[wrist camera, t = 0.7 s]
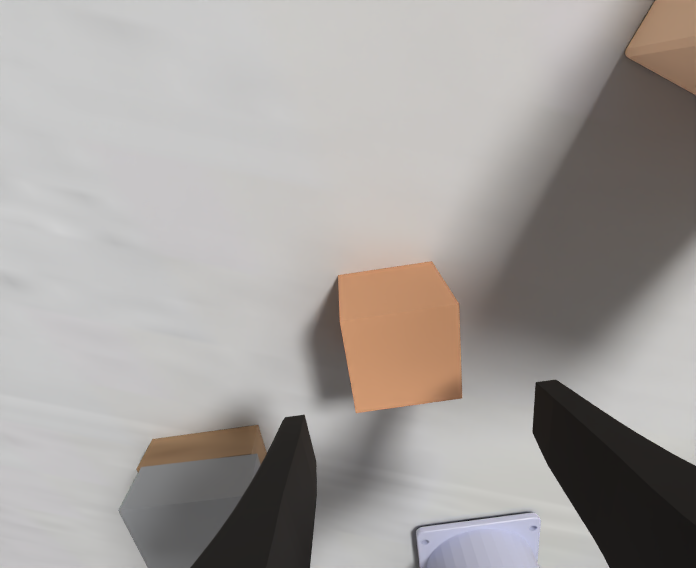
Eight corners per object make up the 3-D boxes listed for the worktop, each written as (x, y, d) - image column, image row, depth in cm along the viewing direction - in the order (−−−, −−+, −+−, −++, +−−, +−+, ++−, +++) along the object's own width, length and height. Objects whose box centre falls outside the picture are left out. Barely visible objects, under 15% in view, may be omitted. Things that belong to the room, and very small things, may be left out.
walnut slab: (281, 492, 25) (276, 529, 23) (187, 505, 25) (173, 543, 23) (259, 419, 22) (251, 453, 20) (155, 434, 23) (136, 469, 20)
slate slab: (279, 530, 23) (273, 575, 20) (175, 542, 23) (158, 588, 21) (257, 453, 20) (248, 495, 18) (141, 467, 20) (118, 510, 18)
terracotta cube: (436, 340, 20) (462, 398, 16) (351, 352, 20) (355, 413, 16) (431, 260, 18) (459, 304, 14) (337, 274, 19) (339, 321, 15)
